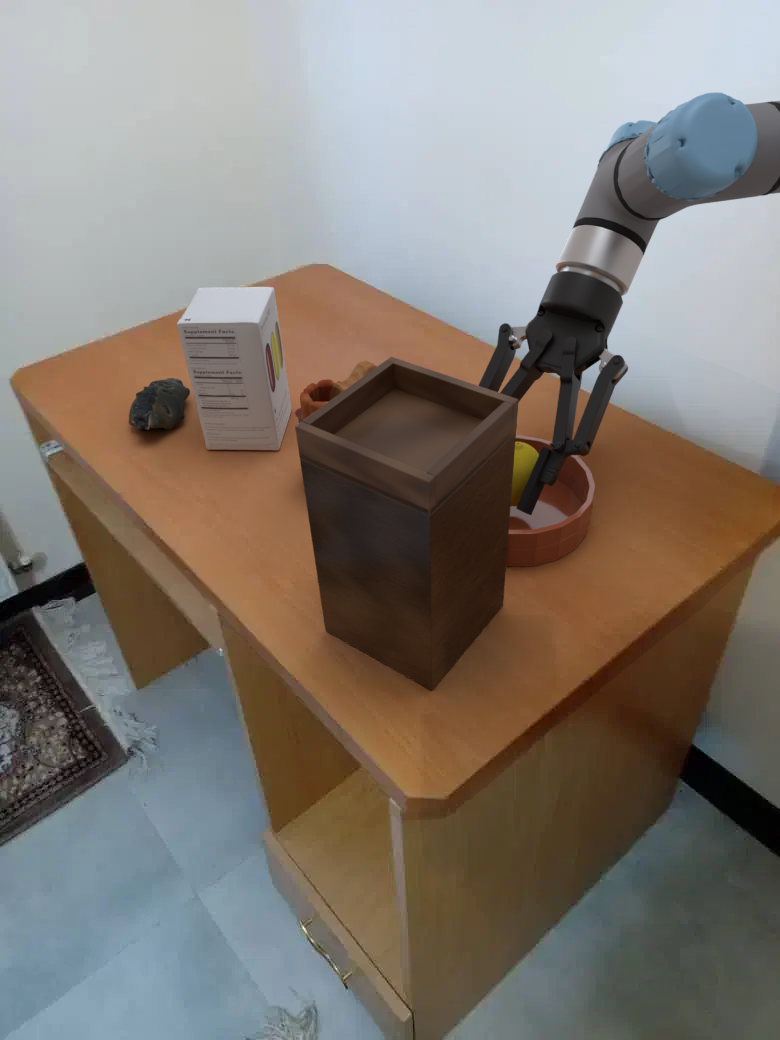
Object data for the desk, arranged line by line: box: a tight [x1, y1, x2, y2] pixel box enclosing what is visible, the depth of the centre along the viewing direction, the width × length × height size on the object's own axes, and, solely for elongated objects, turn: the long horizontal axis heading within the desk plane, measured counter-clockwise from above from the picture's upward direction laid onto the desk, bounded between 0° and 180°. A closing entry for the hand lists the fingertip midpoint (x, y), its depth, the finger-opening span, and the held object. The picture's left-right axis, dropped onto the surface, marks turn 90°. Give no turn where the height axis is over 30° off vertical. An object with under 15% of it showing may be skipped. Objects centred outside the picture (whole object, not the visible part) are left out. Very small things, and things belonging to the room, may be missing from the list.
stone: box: [128, 377, 191, 431], centre depth 100 cm, size 7×13×5 cm, turn 177°
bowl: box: [506, 434, 596, 568], centre depth 83 cm, size 16×16×4 cm
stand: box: [299, 431, 517, 692], centre depth 67 cm, size 12×12×20 cm
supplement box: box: [176, 286, 293, 451], centre depth 93 cm, size 10×9×17 cm
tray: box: [294, 356, 520, 515], centre depth 60 cm, size 12×12×3 cm
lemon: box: [511, 442, 539, 506], centre depth 81 cm, size 6×6×8 cm
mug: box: [294, 360, 378, 424], centre depth 87 cm, size 12×7×13 cm, turn 133°
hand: (496, 500), depth 79 cm, fingers closed on lemon, 5 cm apart
